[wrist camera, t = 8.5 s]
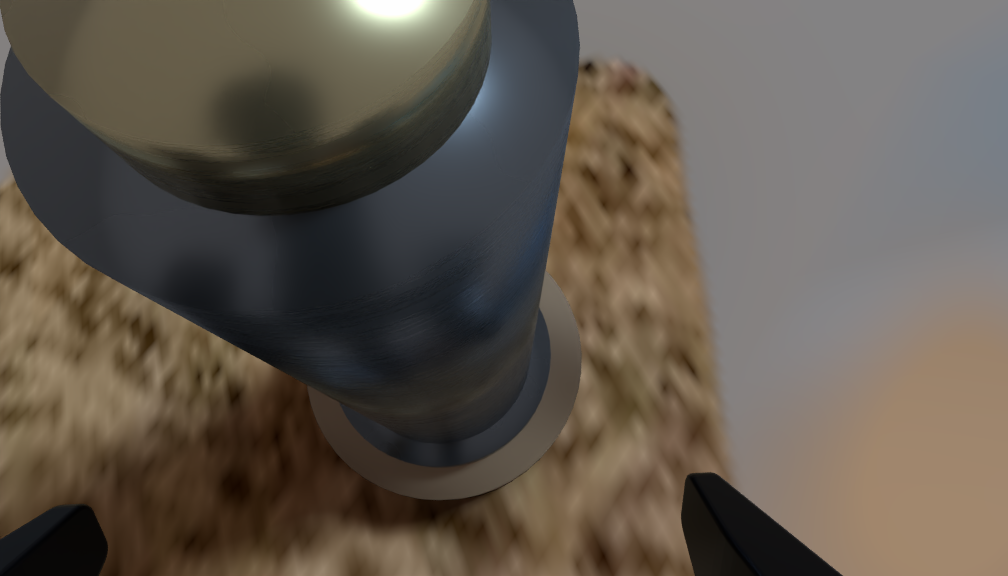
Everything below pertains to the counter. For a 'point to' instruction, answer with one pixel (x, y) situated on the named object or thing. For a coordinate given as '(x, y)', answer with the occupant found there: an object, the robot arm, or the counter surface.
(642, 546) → the counter surface
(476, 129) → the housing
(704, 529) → the robot arm
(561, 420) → the stand
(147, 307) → the counter surface
